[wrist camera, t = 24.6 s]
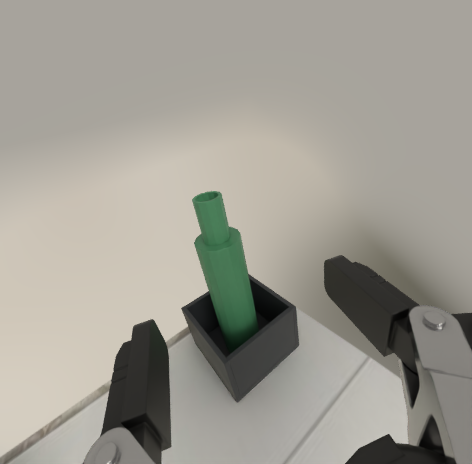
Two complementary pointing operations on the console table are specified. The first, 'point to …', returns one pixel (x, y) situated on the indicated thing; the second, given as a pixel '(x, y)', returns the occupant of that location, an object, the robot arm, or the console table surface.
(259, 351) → the bin
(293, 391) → the console table surface
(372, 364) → the console table surface
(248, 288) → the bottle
